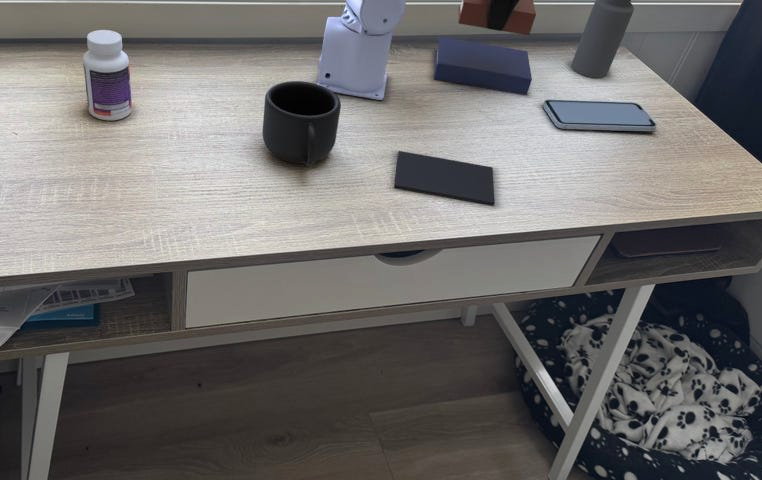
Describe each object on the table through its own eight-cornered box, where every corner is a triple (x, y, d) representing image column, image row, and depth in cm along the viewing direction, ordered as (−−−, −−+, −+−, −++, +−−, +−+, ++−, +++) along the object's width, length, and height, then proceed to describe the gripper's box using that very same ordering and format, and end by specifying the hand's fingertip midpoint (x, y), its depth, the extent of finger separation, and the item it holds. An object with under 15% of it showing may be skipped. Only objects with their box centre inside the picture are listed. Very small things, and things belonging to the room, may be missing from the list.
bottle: (578, 58, 121) (614, -37, 111) (612, 70, 119) (652, -25, 109) (565, 69, 118) (601, -28, 107) (600, 81, 115) (640, -16, 105)
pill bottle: (140, 113, 94) (137, 39, 87) (105, 126, 91) (98, 50, 84) (115, 96, 96) (109, 23, 89) (79, 108, 93) (71, 33, 86)
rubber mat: (394, 187, 88) (394, 185, 87) (398, 153, 93) (398, 150, 93) (494, 205, 87) (494, 202, 87) (491, 169, 93) (492, 167, 93)
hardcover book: (433, 79, 110) (437, 63, 108) (435, 51, 117) (439, 36, 116) (526, 95, 109) (532, 79, 108) (522, 66, 117) (527, 51, 115)
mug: (256, 131, 93) (260, 79, 89) (325, 131, 95) (332, 80, 90) (270, 185, 85) (275, 131, 80) (345, 184, 87) (354, 131, 82)
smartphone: (541, 98, 107) (638, 102, 109) (539, 105, 108) (635, 108, 110) (558, 124, 102) (659, 127, 104) (556, 130, 102) (657, 133, 104)
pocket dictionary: (458, 23, 103) (463, 2, 101) (457, 9, 107) (463, -12, 105) (529, 35, 102) (536, 14, 100) (526, 20, 106) (532, -1, 104)
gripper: (560, -62, 90) (524, 46, 99) (548, -94, 100) (517, 6, 110) (502, -71, 90) (473, 37, 99) (497, -102, 100) (471, -2, 110)
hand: (493, 20), depth 104 cm, fingers closed on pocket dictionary, 5 cm apart
